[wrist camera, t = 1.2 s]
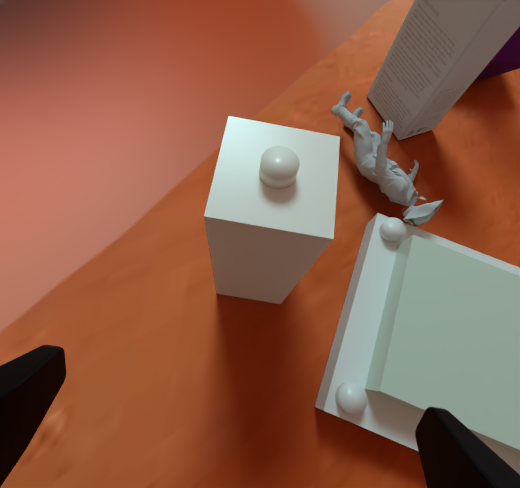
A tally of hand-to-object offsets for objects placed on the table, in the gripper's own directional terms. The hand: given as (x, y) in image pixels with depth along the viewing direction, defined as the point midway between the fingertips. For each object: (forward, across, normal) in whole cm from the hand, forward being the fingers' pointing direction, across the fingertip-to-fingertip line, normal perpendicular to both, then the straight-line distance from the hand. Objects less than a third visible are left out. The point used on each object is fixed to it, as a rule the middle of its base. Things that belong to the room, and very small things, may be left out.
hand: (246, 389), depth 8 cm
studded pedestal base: (+12, -14, +6) cm, 20 cm away
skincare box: (+28, -11, -8) cm, 31 cm away
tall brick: (+15, 0, +4) cm, 15 cm away
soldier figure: (+22, -9, -3) cm, 24 cm away
